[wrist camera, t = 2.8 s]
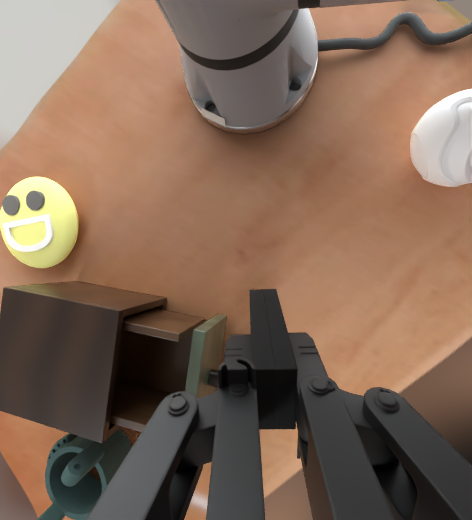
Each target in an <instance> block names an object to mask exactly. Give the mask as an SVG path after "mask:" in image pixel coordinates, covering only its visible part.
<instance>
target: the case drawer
mask: <svg viewBox="0 0 472 520" xmlns="http://www.w3.org/2000/svg"><path fill="white" fill-rule="evenodd" d="M226 320H227V316H225V315H220V314H217V315H215V316H214V317H212V318H211V319H209V320H208V321H206V322H205V318H201V317H196V316H191V315H186V314H180V313H175V312H170V311H165V310H160V309H155V308H151V309H148V310H145V311H142V312H139V313H135V314H132V315H129V316H126V317H123V325H122V332H121V340H120V348H119V355H118V363H117V370H116V378H115V386H114V393H113V401H112V409H111V416H110V423H112V424H116V425H119V426H122V427H126V428H129V429H132V430H135V431H139V432H142V431H143V429H144V428H145V426H146V425H147V423H148V421H149V420H150V418H151V417H152V415H153V414H154V412H155V410H156V409H157V407H158V406H159V404H160V403H161V402H162V401H163V399H164V398H165V397H167V396H168V395H170V394H172V393H175V392H179V391H186V392H189V393H192V394H193V395H194V396H195V397H196V398H201V397H204V396H207V395H210V394H212V393H213V392H215V391H216V390H217V388H219V380H218V368H219V366H220V363H221V356H222V348H223V341H224V334H225V327H226ZM204 322H205V323H204Z"/></svg>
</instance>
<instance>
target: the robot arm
mask: <svg viewBox="0 0 472 520" xmlns="http://www.w3.org/2000/svg"><path fill="white" fill-rule="evenodd" d="M155 1H156V3H157V4H158V6H159V8H160V10H161V12H162V13H163V15H164V17H165V19H166V21H167V23H168V24H169V26H170V28H171V30H172V32H173V33H174V35H175V37H176V39H177V41H178V42H179V45H180V52H181V59H182V66H183V74H184V80H185V84H186V87H187V90H188V93H189V96H190V98H191V100H192V101H193V103H194V105H195V106H196V108H197V109H198V111H199V112H200V113H201V115H202V116H203V117H204V118H205V119H206V120H207V121H208V122H209V123H211V124H212V125H214V126H215V127H217V128H219V129H221V130H224V131H226V132H230V133H235V134H253V133H258V132H262V131H265V130H268V129H270V128H273V127H275V126H277V125H278V124H280V123H282V122H283V121H285V120H286V119H287V118H289V117H290V116H291V115H292V114H293V113H294V112H295V111H296V110H297V109H298V108H299V107H300V105H301V104H302V103H303V101H304V100H305V98H306V97H307V95H308V93H309V91H310V89H311V87H312V85H313V82H314V79H315V75H316V70H317V62H318V51H328V50H339V49H359V50H368V49H374V48H377V47H379V46H381V45H383V44H384V43H385V42H386V41H387V40H388V39H389V38H390V36H391V35H392V34H393V32H394V31H395V29H396V28H397V27H398V26H399V25H402V24H406V25H408V26H410V27H411V29H412V30H413V31H414V33H415V34H416V36H417V37H418V38H419V40H421V41H422V42H423V43H425V44H429V45H442V44H447V43H451V42H454V41H456V40H459V39H461V38H464V37H466V36H468V35H470V34H472V22H471V23H469V24H467V25H465V26H463V27H461V28H458V29H456V30H453V31H450V32H447V33H432V32H431V31H429V30H428V29H427V27H426V26H425V25H424V23H423V22H422V20H421V19H420V18H419V17H418V16H417V15H416V14H414V13H410V12H407V13H401V14H399V15H397V16H396V17H394V18H393V19H392V20H391V22H390V23H389V24H388V26H387V27H386V29H385V30H384V31H383V33H382V34H380V35H379V36H377V37H374V38H370V39H361V38H342V39H330V40H319V41H318V39H317V34H316V29H315V25H314V22H313V20H312V17H311V14H310V12H309V9H308V8H317V7H320V8H323V7H335V6H347V5H358V4H370V3H382V2H393V1H405V0H155ZM437 1H451V0H437ZM250 326H251V334H250V335H230V337H229V338H228V339H227V341H226V344H225V355H224V361H223V362H222V363H221V364H220V366H219V368H218V380H219V388H218V389H217V390H216V391H215V392H213V393H212V394H210V395H207V396H204V397H201V398H196V397H195V396H194V395H193V394H192V393H189V392H186V391H179V392H175V393H172V394H170V395H168V396H167V397H165V398H164V399H163V401H162V402H161V403H160V404H159V406H158V407H157V409H156V410H155V412H154V414H153V415H152V417H151V418H150V420H149V421H148V423H147V425H146V426H145V428H144V429H143V431H142V432H141V434H140V435H139V437H138V439H137V440H136V442H135V443H134V445H133V446H132V448H131V450H130V451H129V453H128V454H127V456H126V457H125V459H124V460H123V462H122V464H121V465H120V467H119V468H118V470H117V471H116V473H115V475H114V476H113V478H112V479H111V481H110V482H109V484H108V485H107V487H106V489H105V490H104V492H103V493H102V495H101V496H100V498H99V500H98V501H97V503H96V504H95V506H94V507H93V509H92V510H91V512H90V514H89V515H88V517H87V518H86V520H184V518H185V515H186V512H187V510H188V507H189V504H190V501H191V499H192V496H193V493H194V491H195V488H196V485H197V482H198V480H199V477H200V474H201V471H202V469H203V464H206V463H209V462H211V461H212V465H211V475H210V485H209V495H208V505H207V515H206V520H265V512H264V511H265V509H264V494H263V479H262V464H261V449H260V434H259V429H296V423H297V428H298V448H297V458H300V456H301V461H302V466H303V472H304V477H305V482H306V487H307V492H308V497H309V502H310V507H311V511H312V517H313V520H472V465H471V464H470V463H468V462H467V460H465V458H463V456H462V455H460V454H459V453H458V452H457V451H456V450H455V449H454V448H453V447H452V446H451V445H450V444H449V443H448V442H447V441H446V440H445V439H444V438H443V437H442V436H441V435H440V434H439V433H438V432H437V431H436V430H435V429H434V428H433V427H432V426H431V425H430V424H429V423H428V422H427V421H426V420H425V419H424V418H423V417H422V416H421V415H420V414H419V413H418V412H417V411H416V410H415V409H414V408H413V407H412V406H411V405H410V404H409V403H408V402H407V401H406V400H405V399H404V398H403V397H401V396H400V395H399V394H397V393H396V392H394V391H391V390H389V389H385V388H381V387H377V388H371V389H369V390H367V391H366V393H365V394H364V396H361V395H356V394H352V393H348V392H345V391H343V390H341V389H339V388H338V386H337V384H336V383H335V382H334V381H333V380H332V379H330V378H329V377H328V375H327V373H326V370H325V368H324V365H323V363H322V361H321V358H320V356H319V354H318V351H317V348H316V346H315V343H314V341H313V339H312V338H311V337H310V336H309V335H308V334H307V333H288V331H287V328H286V324H285V320H284V317H283V313H282V309H281V306H280V302H279V298H278V295H277V291H276V289H261V290H250Z"/></svg>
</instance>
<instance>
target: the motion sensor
mask: <svg viewBox="0 0 472 520" xmlns="http://www.w3.org/2000/svg"><path fill="white" fill-rule="evenodd" d="M410 154H411V159H412V162H413V165H414V166H415V168H416V169H417V171H418V172H419V173H420V175H421V176H422V178H423V179H424V180H426V181H428V182H431V183H434V184H437V185H441V186H447V187H458V186H460V185H463V184H468V183H472V89H469V90H465V91H461V92H458V93H455V94H453V95H451V96H448V97H446V98H445V99H443V100H441V101H440V102H438V103H437V104H435V105H434V106H433V107H432V108H430V109H429V110H428V111H427V112H426V113H425V114H424V115H423V117H422V118H421V119H420V120H419V122H418V123H417V125H416V126H415V128H414V130H413V131H412V133H411V146H410Z"/></svg>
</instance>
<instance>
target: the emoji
mask: <svg viewBox="0 0 472 520" xmlns="http://www.w3.org/2000/svg"><path fill="white" fill-rule="evenodd" d="M0 228H1V233H2V237H3V239H4V242H5V244H6V246H7V248H8V249H9V251H10V252H11V253H12V254H13V255H14V256H15V257H16V258H17V259H18V260H19V261H21V262H22V263H24V264H26V265H28V266H31V267H34V268H48V267H52V266H54V265H56V264H59V263H60V262H61V261H63V260H64V259H65V258H66V257H67V256H68V255H69V254H70V252H71V251H72V249H73V247H74V245H75V243H76V240H77V236H78V231H79V220H78V214H77V210H76V207H75V204H74V202H73V200H72V198H71V197H70V195H69V194H68V193H67V191H66V190H65V189H64V188H63V187H61V186H60V185H59V184H58V183H56V182H55V181H52V180H50V179H48V178H43V177H31V178H27V179H25V180H22V181H20V182H19V183H17V184H16V185H15V186H14V187H13V188H12V189H11V190H10V191H9V193H8V194H7V196H6V197H5V198H4V200H3V203H2V208H1V213H0Z"/></svg>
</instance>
